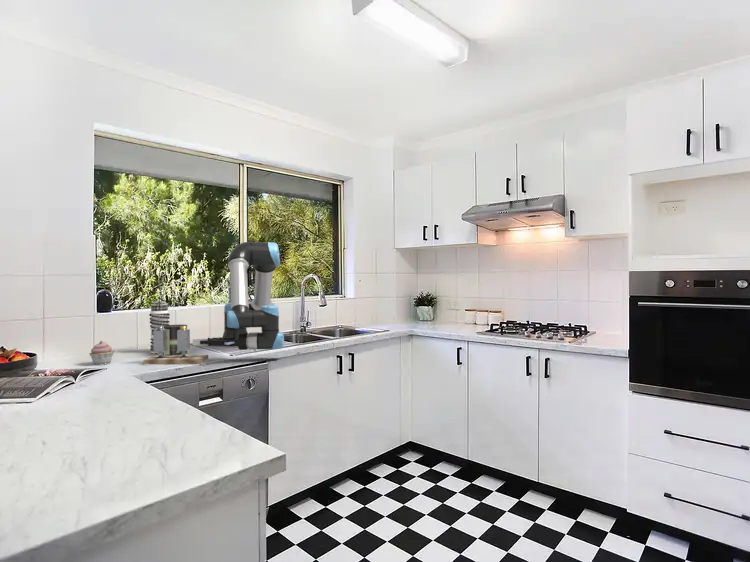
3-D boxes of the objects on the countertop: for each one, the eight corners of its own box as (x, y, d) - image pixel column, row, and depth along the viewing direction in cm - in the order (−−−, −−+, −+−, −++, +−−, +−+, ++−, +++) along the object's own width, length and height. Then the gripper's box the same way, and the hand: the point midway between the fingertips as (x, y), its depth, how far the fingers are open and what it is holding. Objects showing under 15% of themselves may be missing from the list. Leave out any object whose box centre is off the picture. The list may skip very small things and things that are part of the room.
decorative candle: (156, 354, 213) (156, 302, 213) (145, 352, 218) (145, 301, 218) (174, 351, 221) (173, 301, 221) (163, 350, 226) (162, 300, 226)
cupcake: (84, 364, 190) (83, 341, 190) (106, 360, 198) (105, 338, 198) (97, 366, 185) (97, 342, 185) (119, 362, 194) (118, 339, 193)
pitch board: (208, 359, 201) (208, 354, 201) (202, 363, 191) (201, 358, 191) (152, 360, 198) (152, 355, 198) (143, 364, 189) (143, 359, 188)
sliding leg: (189, 355, 197) (189, 325, 197) (187, 357, 193) (186, 326, 193) (180, 355, 197) (180, 325, 197) (177, 357, 193) (177, 326, 193)
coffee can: (192, 353, 216) (191, 324, 215) (178, 357, 206) (178, 327, 205) (173, 352, 218) (172, 324, 218) (159, 356, 208) (158, 326, 207)
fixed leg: (166, 356, 196) (166, 326, 196) (163, 358, 192) (162, 327, 192) (157, 357, 196) (156, 326, 196) (153, 358, 192) (153, 327, 192)
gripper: (245, 352, 191) (188, 353, 189) (251, 347, 204) (197, 348, 202) (245, 334, 191) (188, 335, 189) (250, 330, 204) (197, 331, 202)
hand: (193, 342), depth 195 cm, fingers closed
